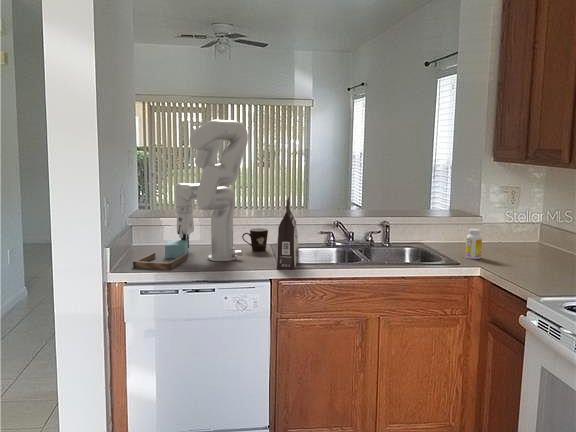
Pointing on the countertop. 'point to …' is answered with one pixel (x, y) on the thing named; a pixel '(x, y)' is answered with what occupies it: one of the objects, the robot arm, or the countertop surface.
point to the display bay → (146, 264)
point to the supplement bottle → (473, 244)
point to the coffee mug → (258, 239)
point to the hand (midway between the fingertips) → (185, 248)
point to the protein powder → (287, 242)
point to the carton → (176, 248)
